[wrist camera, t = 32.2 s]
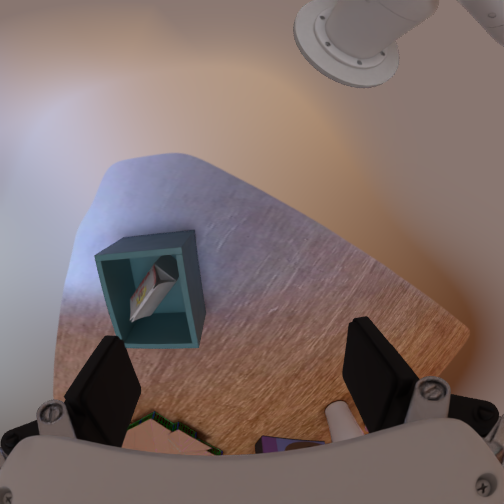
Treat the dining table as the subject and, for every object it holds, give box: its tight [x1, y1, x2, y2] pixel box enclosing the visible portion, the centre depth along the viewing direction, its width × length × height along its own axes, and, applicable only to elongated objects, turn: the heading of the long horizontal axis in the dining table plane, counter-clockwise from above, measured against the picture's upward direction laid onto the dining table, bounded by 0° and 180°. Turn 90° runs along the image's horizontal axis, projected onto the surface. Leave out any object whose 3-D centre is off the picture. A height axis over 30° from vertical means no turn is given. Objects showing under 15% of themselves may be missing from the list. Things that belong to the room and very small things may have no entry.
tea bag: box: [129, 255, 179, 322], centre depth 35 cm, size 4×7×10 cm, turn 140°
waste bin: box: [94, 230, 206, 349], centre depth 36 cm, size 14×12×10 cm
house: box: [122, 412, 222, 456], centre depth 50 cm, size 23×33×8 cm
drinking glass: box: [325, 401, 364, 443], centre depth 44 cm, size 7×7×15 cm
